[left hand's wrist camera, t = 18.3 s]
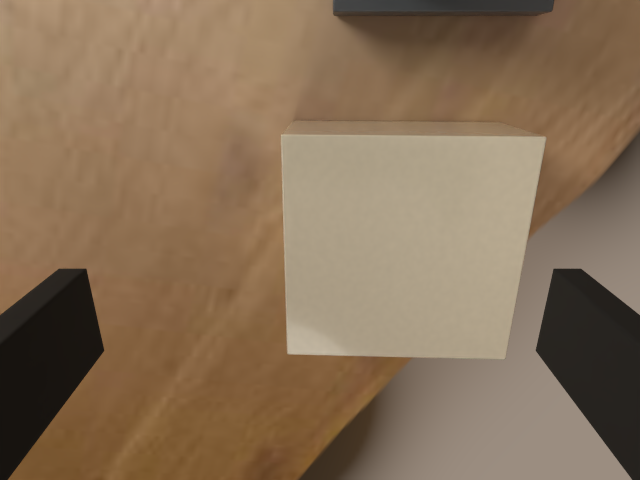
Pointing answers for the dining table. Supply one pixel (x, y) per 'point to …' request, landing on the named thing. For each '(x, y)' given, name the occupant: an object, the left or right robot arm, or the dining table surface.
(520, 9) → the grey base with post
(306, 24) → the dining table surface
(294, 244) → the beige square block
